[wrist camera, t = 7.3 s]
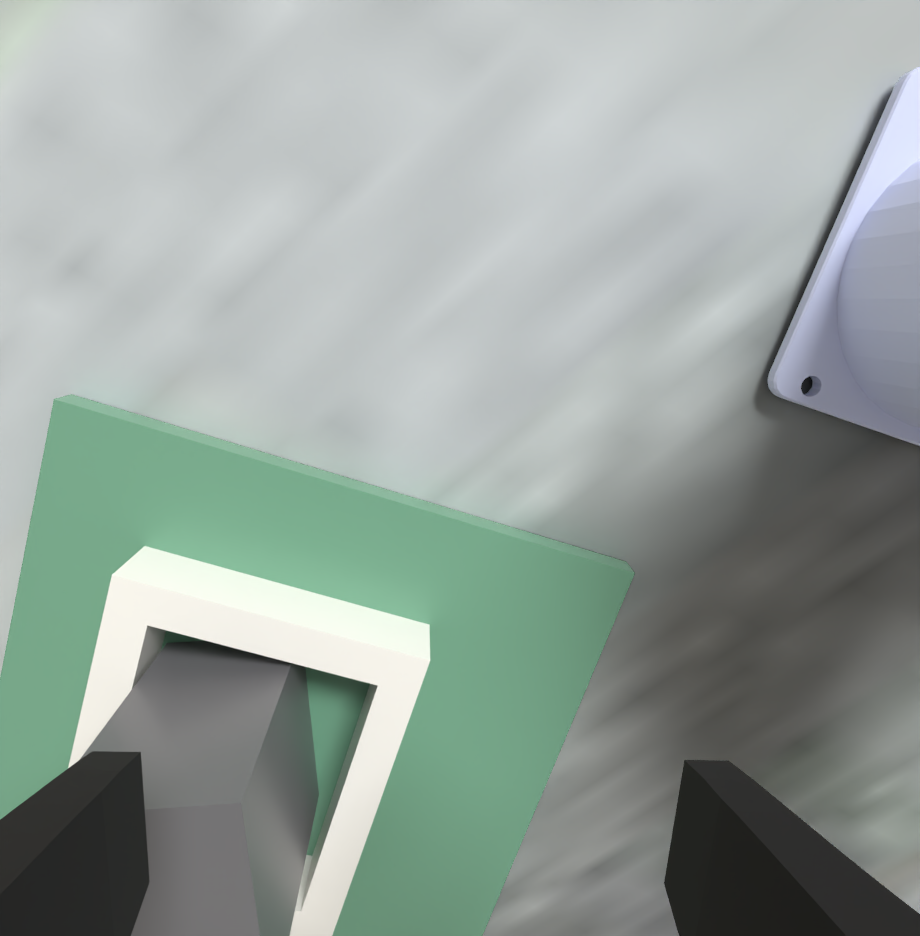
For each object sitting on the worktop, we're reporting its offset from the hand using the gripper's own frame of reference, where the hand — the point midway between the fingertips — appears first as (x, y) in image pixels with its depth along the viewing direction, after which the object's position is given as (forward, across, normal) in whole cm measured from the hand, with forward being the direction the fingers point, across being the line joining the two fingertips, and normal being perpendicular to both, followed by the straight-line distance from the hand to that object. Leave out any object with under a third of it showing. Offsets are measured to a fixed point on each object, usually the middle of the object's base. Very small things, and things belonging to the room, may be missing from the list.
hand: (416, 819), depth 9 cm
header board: (+9, +4, +5) cm, 11 cm away
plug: (+9, +4, +5) cm, 11 cm away
